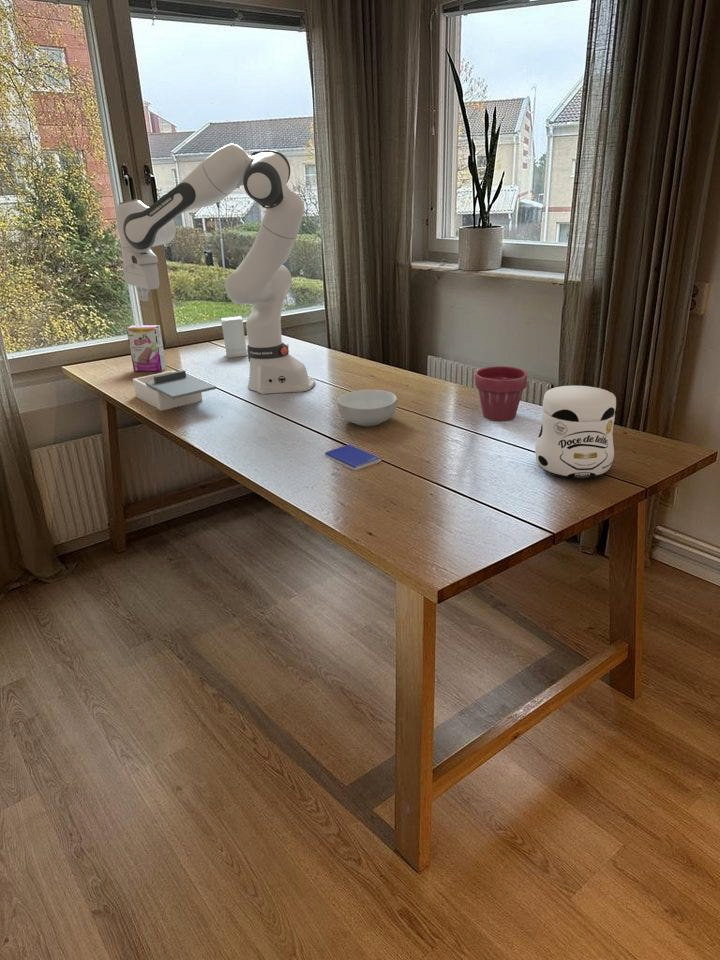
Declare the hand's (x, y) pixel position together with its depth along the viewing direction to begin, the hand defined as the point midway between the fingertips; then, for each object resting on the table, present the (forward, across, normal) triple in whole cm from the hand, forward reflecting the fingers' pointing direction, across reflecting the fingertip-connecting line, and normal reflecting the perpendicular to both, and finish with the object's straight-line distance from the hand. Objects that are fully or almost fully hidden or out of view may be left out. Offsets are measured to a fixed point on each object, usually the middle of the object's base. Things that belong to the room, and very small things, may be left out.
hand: (144, 300), depth 217 cm
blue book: (+30, +94, +10) cm, 100 cm away
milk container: (+29, +135, +43) cm, 145 cm away
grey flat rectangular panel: (+23, +25, -3) cm, 34 cm away
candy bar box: (+29, -24, +7) cm, 39 cm away
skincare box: (+29, -20, +41) cm, 54 cm away
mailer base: (+29, +14, -3) cm, 32 cm away
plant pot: (+29, +99, +60) cm, 119 cm away
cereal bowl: (+29, +76, +30) cm, 87 cm away
